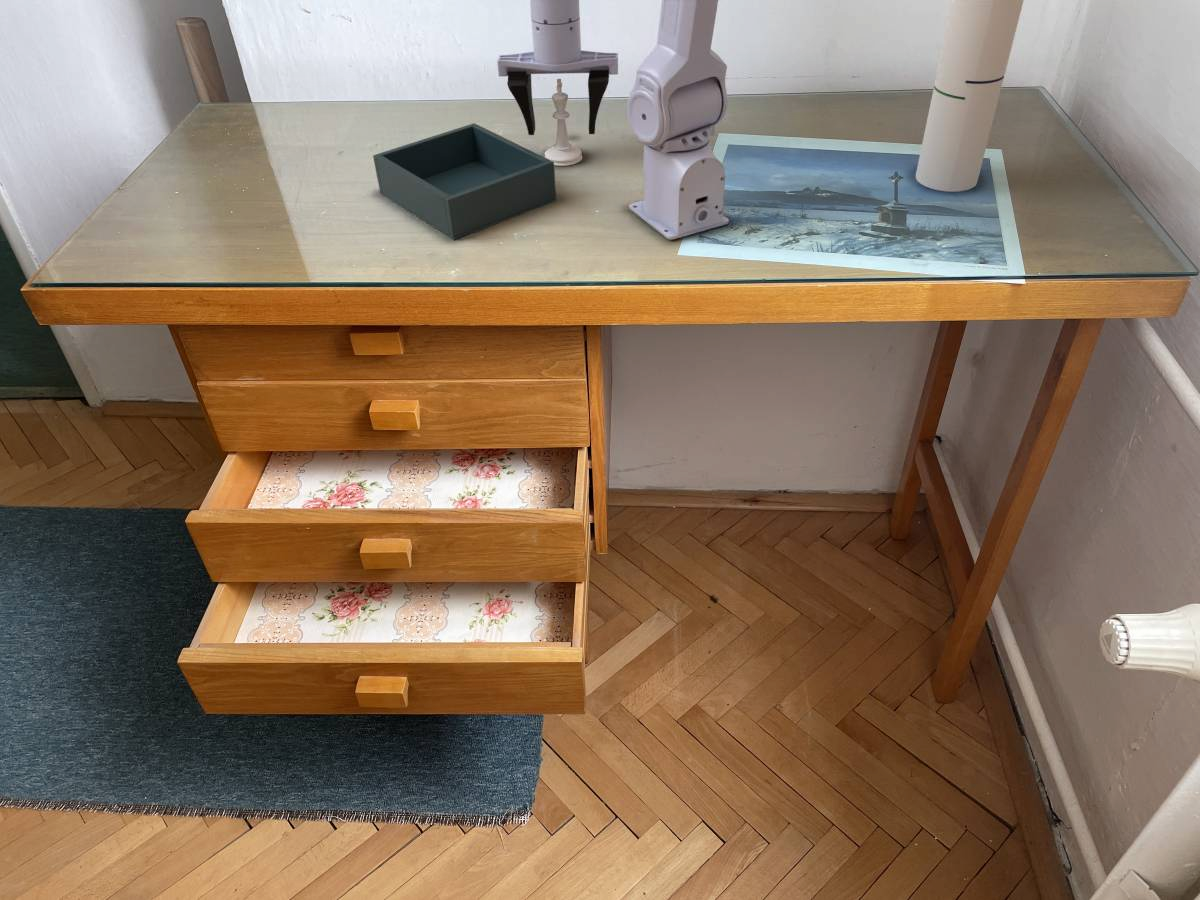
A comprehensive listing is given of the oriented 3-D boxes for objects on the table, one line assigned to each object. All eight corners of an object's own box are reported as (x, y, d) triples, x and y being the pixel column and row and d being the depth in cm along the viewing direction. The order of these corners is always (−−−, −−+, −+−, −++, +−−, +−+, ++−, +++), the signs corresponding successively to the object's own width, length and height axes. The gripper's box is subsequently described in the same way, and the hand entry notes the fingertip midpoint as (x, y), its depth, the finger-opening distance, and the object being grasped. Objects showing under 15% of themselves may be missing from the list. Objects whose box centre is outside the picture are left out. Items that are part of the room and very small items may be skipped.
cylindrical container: (980, 193, 107) (1041, -43, 91) (917, 189, 109) (966, -44, 92) (973, 168, 113) (1030, -59, 96) (913, 165, 114) (960, -60, 98)
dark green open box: (556, 200, 109) (554, 161, 106) (453, 240, 102) (447, 200, 99) (478, 159, 119) (474, 122, 116) (379, 193, 112) (372, 155, 109)
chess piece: (584, 150, 120) (581, 72, 114) (580, 166, 116) (576, 86, 110) (547, 150, 121) (542, 72, 114) (541, 165, 117) (536, 86, 110)
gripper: (617, 6, 110) (619, 118, 119) (498, 9, 111) (508, 120, 120) (616, 24, 105) (618, 140, 114) (491, 26, 105) (502, 141, 114)
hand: (561, 131), depth 116 cm, fingers open, 7 cm apart
